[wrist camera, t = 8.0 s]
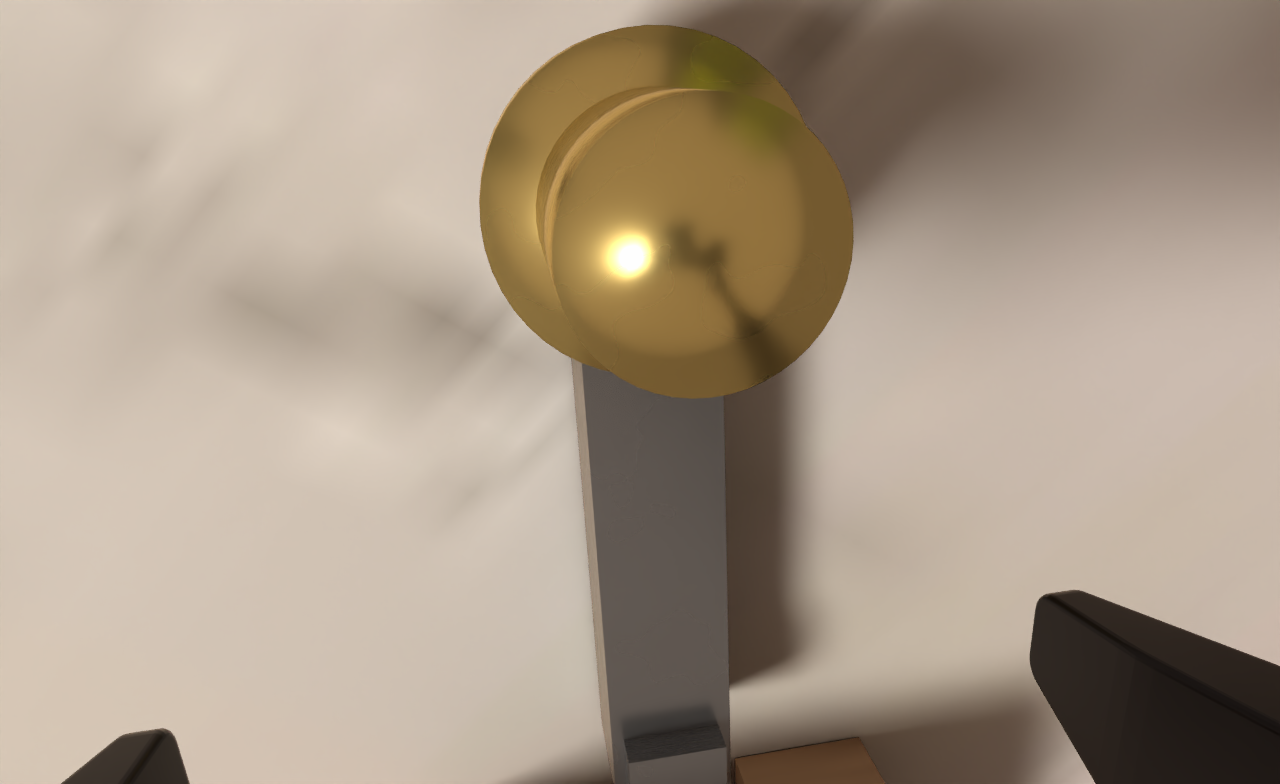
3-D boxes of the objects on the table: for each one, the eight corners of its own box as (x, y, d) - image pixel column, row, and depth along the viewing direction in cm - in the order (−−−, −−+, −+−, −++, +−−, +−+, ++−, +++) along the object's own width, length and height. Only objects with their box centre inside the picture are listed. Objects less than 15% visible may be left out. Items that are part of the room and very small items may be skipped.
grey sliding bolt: (759, 696, 25) (873, 952, 18) (542, 731, 25) (568, 1015, 17) (757, 27, 19) (932, -2, 12) (463, 42, 18) (450, 20, 11)
